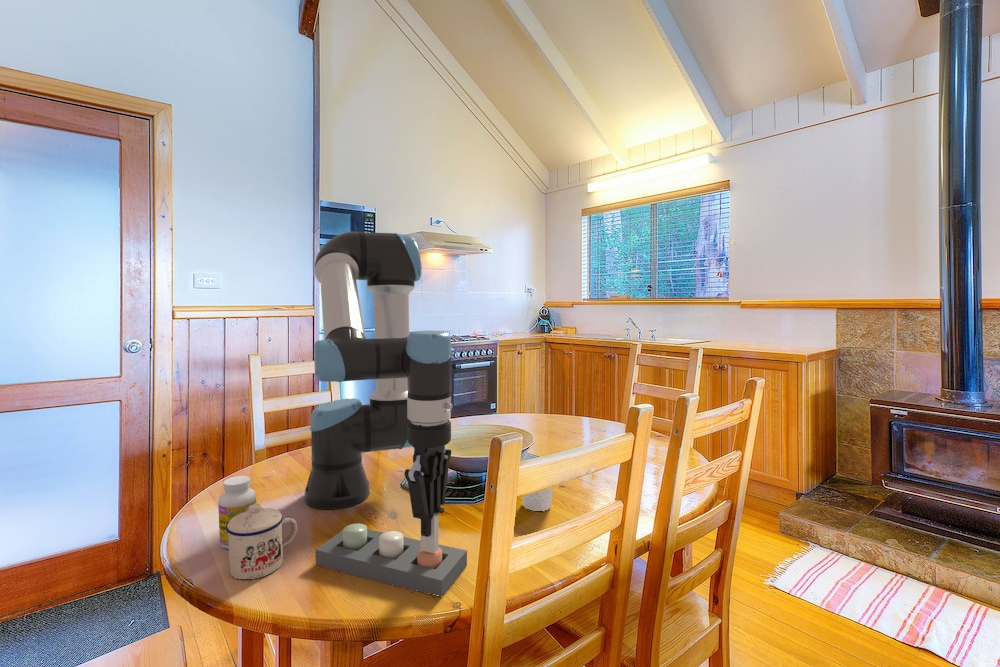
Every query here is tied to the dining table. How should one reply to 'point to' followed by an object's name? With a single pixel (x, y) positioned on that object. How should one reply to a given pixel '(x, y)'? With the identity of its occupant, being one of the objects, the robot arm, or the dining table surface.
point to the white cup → (538, 500)
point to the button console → (393, 564)
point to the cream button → (391, 544)
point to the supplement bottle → (233, 503)
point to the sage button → (355, 536)
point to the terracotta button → (429, 558)
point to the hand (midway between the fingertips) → (429, 549)
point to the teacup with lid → (257, 542)
